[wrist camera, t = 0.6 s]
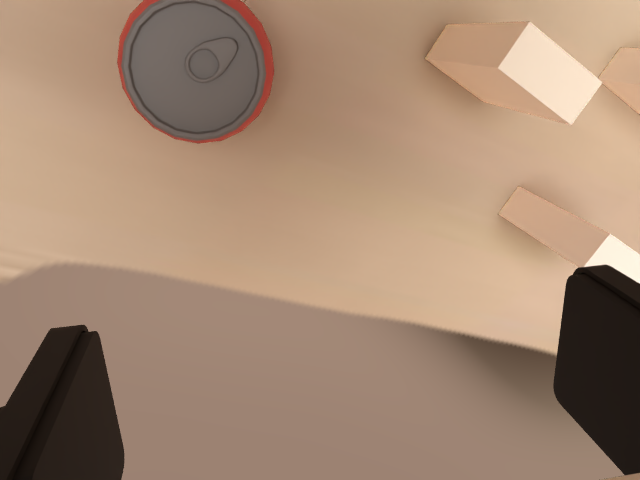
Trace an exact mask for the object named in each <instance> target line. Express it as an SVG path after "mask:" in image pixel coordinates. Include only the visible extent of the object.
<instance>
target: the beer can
mask: <svg viewBox="0 0 640 480" xmlns="http://www.w3.org/2000/svg"><path fill="white" fill-rule="evenodd" d="M117 63H118V68H119V73H120V77H121V82H122V87H123V89H124V91H125V93H126V94H127V96H128V98H129V100H130V102H131V103H132V105H133V107H134V109H135V110H136V111H137V112H138V113H139V114H140V115H141V116H142V117H143V118H144V119H145V120H146V121H147V122H148V123H149V124H150V125H151V126H152V127H153V128H155V129H157V130H159V131H161V132H163V133H165V134H167V135H168V136H170V137H172V138H174V139H178V140H183V141H188V142H194V143H206V142H214V141H222V140H224V139H226V138H228V137H230V136H232V135H235V134H237V133H239V132H241V131H243V130H244V129H245V128H246V127H247V126H248V125H249V124H250V123H251V122H252V121H253V120H254V119H255V118H256V117H257V116H259V114H260V112H261V110H262V108H263V106H264V105H265V103H266V101H267V99H268V97H269V95H270V91H271V86H272V80H273V75H274V65H273V57H272V48H271V45H270V42H269V40H268V38H267V36H266V33H265V31H264V29H263V26H262V24H261V22H260V21H259V20H258V19H257V18H256V17H255V15H254V14H253V13H252V12H251V11H250V10H249V8H248V7H247V6H246V5H245V4H244V3H243V2H241V1H240V0H144V1H143V2H142V3H141V4H140V5H139V6H138V7H137V8H136V9H135V10H134V11H133V12H132V13H131V14H130V16H129V18H128V20H127V22H126V25H125V27H124V29H123V31H122V33H121V35H120V41H119V50H118V60H117Z"/></svg>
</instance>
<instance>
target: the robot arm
mask: <svg viewBox="0 0 640 480" xmlns="http://www.w3.org/2000/svg"><path fill="white" fill-rule="evenodd" d="M554 393H555V396H556V398H557V400H558V401H559V403H560V404H561V405H562V407H563V408H564V409H565V410H566V411H567V412H568V413H569V414H570V415H571V416H572V417H573V419H575V421H576V422H577V423H578V424H579V425H580V426H581V427H582V428H583V430H584V431H585V432H586V433H587V434H588V435H589V436H590V437H591V438H592V439H593V440H594V441H595V443H596V444H597V445H598V446H599V447H600V448H601V449H602V450H603V451H604V453H605V454H606V455H607V456H608V457H609V458H610V459H611V460H612V461H613V462H614V464H615V465H616V466H617V467H618V468H619V469H620V470H621V471H622V472H623V474H624V476H619V477H613V478H607V479H602V480H640V283H638V282H636V281H635V280H633V279H631V278H630V277H628V276H626V275H625V274H623V273H621V272H620V271H618V270H616V269H615V268H613V267H611V266H609V265H606V264H605V265H597V266H588V267H579V268H578V269H576V270H575V272H574V273H573V275H571V276H570V277H569V278H568V279H567V283H566V289H565V297H564V305H563V313H562V321H561V329H560V337H559V344H558V352H557V361H556V368H555V376H554ZM123 468H124V449H123V443H122V439H121V434H120V429H119V424H118V420H117V415H116V410H115V406H114V401H113V397H112V392H111V387H110V382H109V378H108V374H107V368H106V364H105V359H104V355H103V351H102V345H101V341H100V337H99V334H98V332H97V331H92V332H88V329H87V327H86V326H85V325H77V326H69V327H60V328H51V329H50V331H49V332H48V333H47V335H46V337H45V339H44V340H43V342H42V344H41V345H40V347H39V349H38V350H37V352H36V354H35V356H34V357H33V359H32V361H31V362H30V364H29V366H28V368H27V369H26V371H25V373H24V374H23V376H22V378H21V380H20V381H19V383H18V385H17V386H16V388H15V390H14V392H13V393H12V395H11V397H10V399H9V400H8V402H7V404H6V406H3V407H1V408H0V480H121V478H122V473H123Z"/></svg>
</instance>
